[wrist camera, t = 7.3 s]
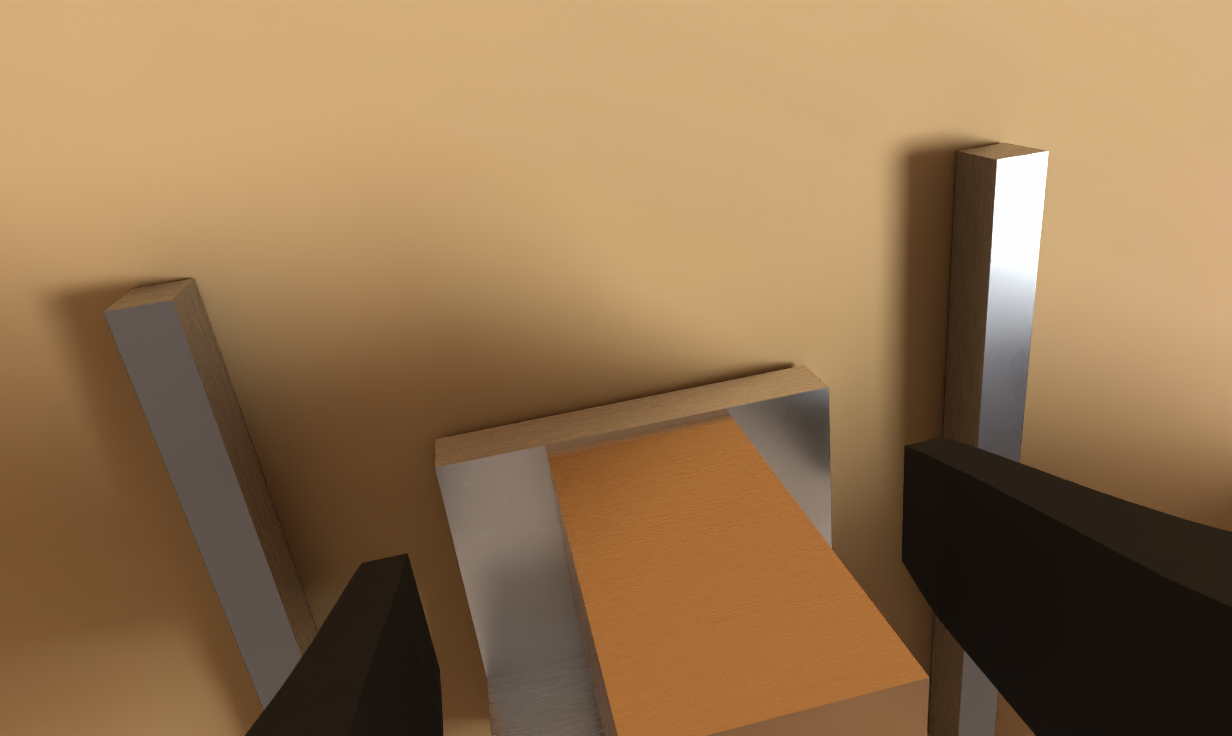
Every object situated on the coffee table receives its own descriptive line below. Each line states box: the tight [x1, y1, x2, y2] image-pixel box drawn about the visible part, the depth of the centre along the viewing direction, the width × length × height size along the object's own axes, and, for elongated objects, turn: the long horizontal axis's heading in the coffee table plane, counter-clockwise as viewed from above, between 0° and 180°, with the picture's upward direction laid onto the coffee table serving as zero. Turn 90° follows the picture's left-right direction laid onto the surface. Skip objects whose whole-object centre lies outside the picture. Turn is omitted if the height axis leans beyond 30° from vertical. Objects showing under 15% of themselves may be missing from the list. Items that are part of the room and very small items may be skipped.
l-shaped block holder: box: [435, 365, 930, 736], centre depth 11 cm, size 6×6×6 cm
